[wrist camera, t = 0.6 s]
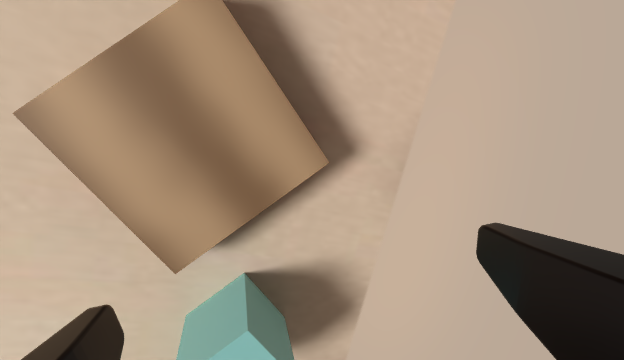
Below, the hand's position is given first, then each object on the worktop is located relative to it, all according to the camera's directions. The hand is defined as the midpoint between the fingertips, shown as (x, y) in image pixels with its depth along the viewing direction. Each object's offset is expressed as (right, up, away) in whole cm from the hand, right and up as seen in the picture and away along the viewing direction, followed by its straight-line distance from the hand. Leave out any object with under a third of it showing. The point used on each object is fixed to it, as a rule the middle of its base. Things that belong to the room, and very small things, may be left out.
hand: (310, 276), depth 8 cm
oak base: (-7, +5, +12) cm, 15 cm away
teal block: (-5, -8, +16) cm, 18 cm away
